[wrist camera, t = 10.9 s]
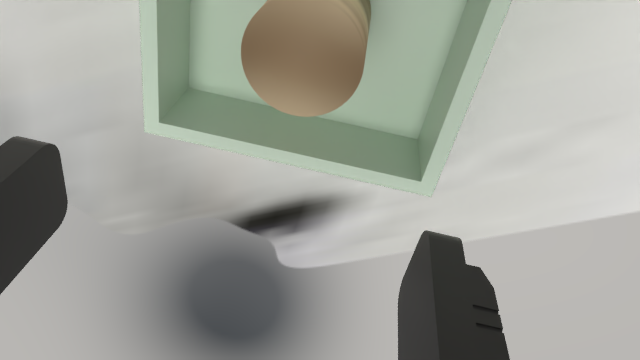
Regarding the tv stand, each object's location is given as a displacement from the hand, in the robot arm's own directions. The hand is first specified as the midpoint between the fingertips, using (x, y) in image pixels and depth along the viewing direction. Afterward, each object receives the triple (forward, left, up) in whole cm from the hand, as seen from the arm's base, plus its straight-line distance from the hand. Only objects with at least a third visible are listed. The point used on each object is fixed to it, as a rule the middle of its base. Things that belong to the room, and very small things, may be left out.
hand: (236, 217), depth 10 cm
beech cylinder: (+1, 0, -17) cm, 17 cm away
